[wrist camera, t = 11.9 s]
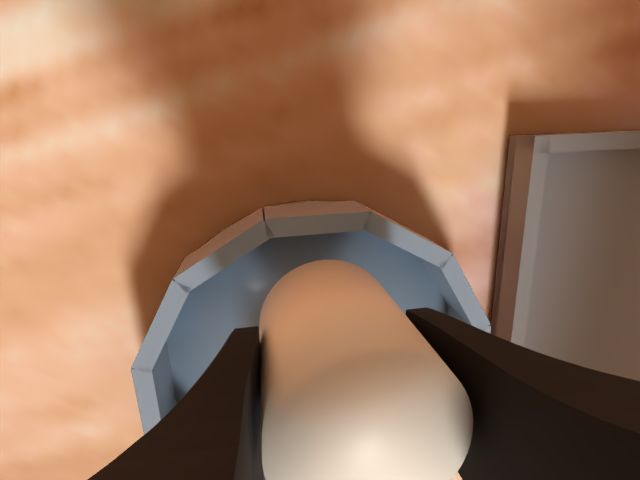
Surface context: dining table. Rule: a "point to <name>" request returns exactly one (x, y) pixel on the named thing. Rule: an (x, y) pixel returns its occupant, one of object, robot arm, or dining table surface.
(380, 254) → the bowl
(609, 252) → the parts tray
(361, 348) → the beige rounded cylinder
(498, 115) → the dining table surface
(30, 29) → the dining table surface
